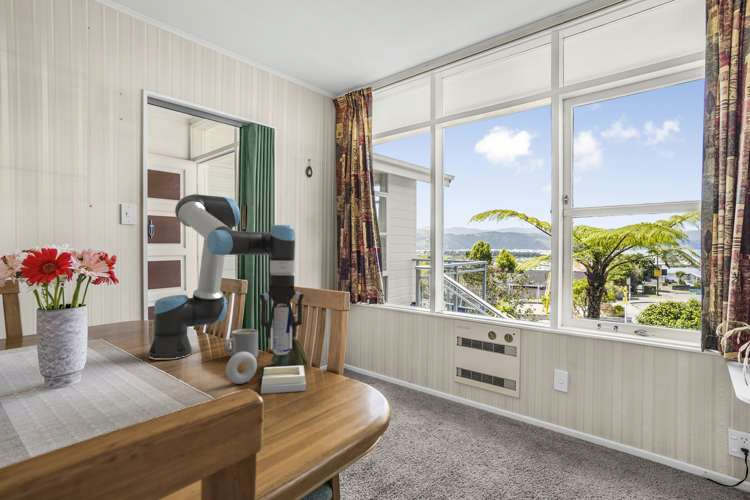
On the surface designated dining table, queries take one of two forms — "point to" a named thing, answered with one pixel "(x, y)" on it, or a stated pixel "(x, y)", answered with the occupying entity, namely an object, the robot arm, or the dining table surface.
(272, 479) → the dining table surface
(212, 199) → the robot arm
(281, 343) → the beverage can
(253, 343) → the coffee mug
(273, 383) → the tray
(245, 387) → the dining table surface
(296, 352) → the figurine
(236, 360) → the donut
